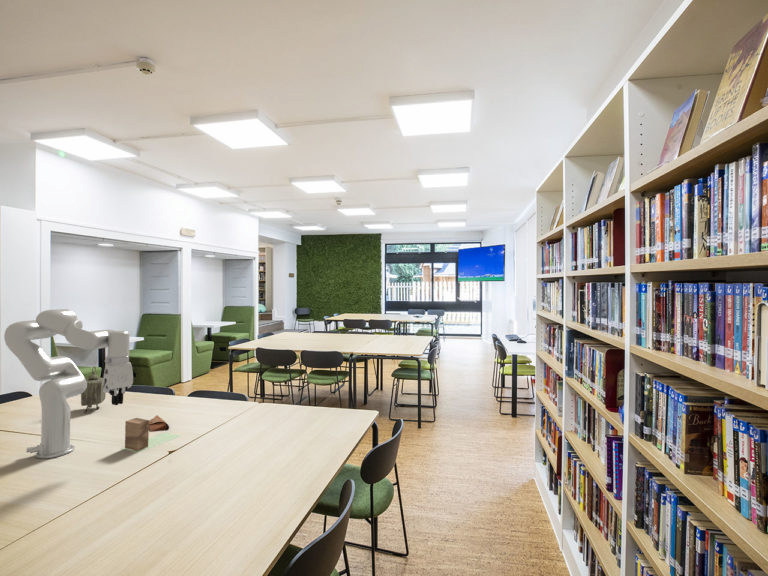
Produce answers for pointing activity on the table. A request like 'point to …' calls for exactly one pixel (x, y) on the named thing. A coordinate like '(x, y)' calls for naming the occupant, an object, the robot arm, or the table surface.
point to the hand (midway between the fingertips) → (117, 403)
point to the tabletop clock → (93, 391)
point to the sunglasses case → (157, 424)
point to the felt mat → (157, 440)
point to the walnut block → (136, 434)
